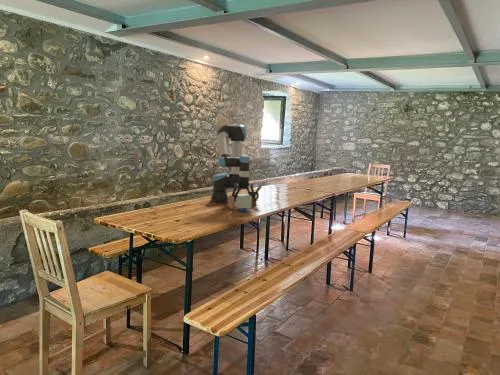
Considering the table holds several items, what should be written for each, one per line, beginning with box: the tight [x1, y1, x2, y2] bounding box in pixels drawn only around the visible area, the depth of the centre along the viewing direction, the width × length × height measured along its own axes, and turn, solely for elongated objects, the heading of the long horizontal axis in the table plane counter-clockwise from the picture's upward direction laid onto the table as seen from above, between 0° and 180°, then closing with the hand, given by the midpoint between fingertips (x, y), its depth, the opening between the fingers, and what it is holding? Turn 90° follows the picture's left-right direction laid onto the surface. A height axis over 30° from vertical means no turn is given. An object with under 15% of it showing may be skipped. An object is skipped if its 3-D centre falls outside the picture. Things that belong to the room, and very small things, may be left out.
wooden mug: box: [247, 185, 262, 207], centre depth 304 cm, size 9×14×18 cm, turn 61°
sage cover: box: [236, 193, 252, 209], centre depth 282 cm, size 10×10×9 cm
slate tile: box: [231, 208, 254, 214], centre depth 283 cm, size 13×13×1 cm
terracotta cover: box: [227, 195, 239, 210], centre depth 295 cm, size 10×10×9 cm
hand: (242, 205), depth 283 cm, fingers closed on sage cover, 10 cm apart
